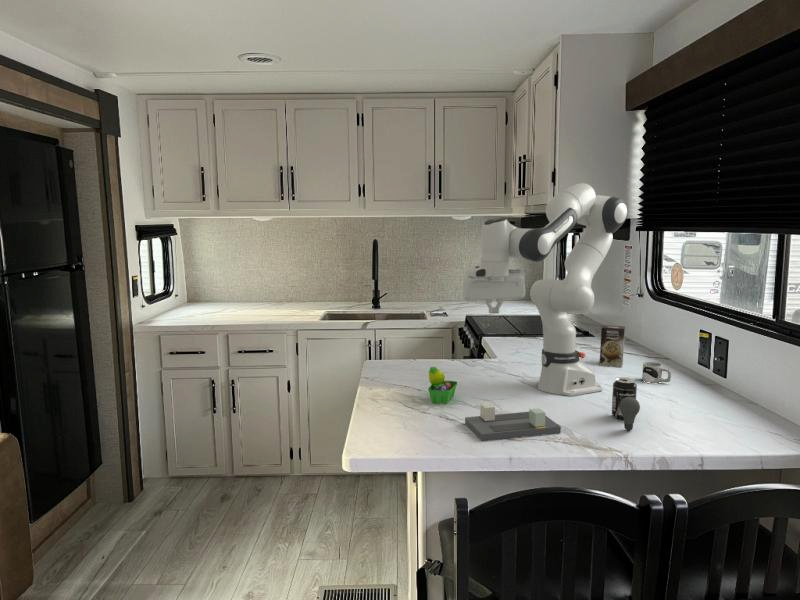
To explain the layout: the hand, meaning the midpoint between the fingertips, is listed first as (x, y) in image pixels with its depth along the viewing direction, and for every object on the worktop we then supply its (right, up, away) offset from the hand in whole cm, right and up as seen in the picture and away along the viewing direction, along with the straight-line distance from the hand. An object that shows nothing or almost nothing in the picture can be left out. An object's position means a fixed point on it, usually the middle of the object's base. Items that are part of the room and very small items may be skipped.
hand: (494, 313), depth 189 cm
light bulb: (+36, -34, -17) cm, 53 cm away
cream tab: (-4, -31, -13) cm, 34 cm away
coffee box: (+57, -23, +55) cm, 82 cm away
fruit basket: (-16, -30, +12) cm, 36 cm away
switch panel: (+3, -34, -15) cm, 37 cm away
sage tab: (+10, -32, -18) cm, 38 cm away
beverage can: (+39, -32, -6) cm, 51 cm away
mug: (+65, -27, +30) cm, 76 cm away
